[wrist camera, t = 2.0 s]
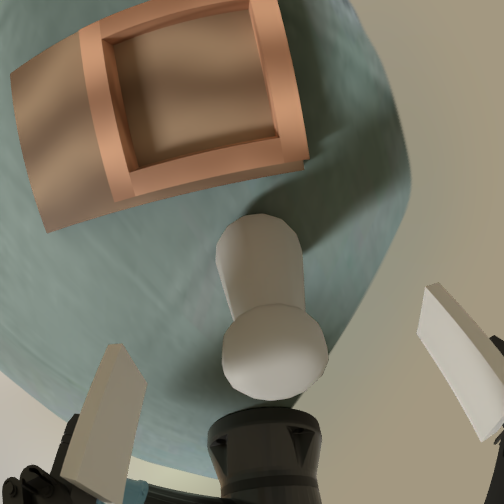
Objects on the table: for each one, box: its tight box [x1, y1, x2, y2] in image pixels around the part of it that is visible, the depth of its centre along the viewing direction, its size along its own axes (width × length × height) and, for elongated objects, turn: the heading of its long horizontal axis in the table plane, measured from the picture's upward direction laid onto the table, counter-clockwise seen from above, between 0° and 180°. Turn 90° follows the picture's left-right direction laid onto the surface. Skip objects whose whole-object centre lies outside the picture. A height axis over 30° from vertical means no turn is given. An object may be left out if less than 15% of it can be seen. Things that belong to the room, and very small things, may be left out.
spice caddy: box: [10, 0, 310, 233], centre depth 15 cm, size 14×20×4 cm
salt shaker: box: [216, 213, 329, 401], centre depth 16 cm, size 6×6×13 cm
